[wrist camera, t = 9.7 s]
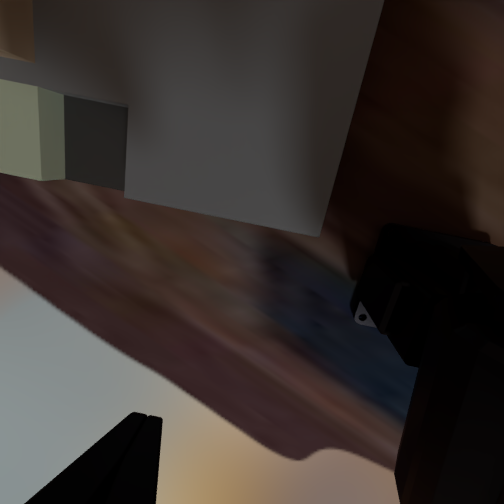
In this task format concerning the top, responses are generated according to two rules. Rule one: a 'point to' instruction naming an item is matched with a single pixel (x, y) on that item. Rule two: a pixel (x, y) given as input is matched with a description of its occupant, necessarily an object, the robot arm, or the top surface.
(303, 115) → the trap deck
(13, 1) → the block
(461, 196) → the top surface
